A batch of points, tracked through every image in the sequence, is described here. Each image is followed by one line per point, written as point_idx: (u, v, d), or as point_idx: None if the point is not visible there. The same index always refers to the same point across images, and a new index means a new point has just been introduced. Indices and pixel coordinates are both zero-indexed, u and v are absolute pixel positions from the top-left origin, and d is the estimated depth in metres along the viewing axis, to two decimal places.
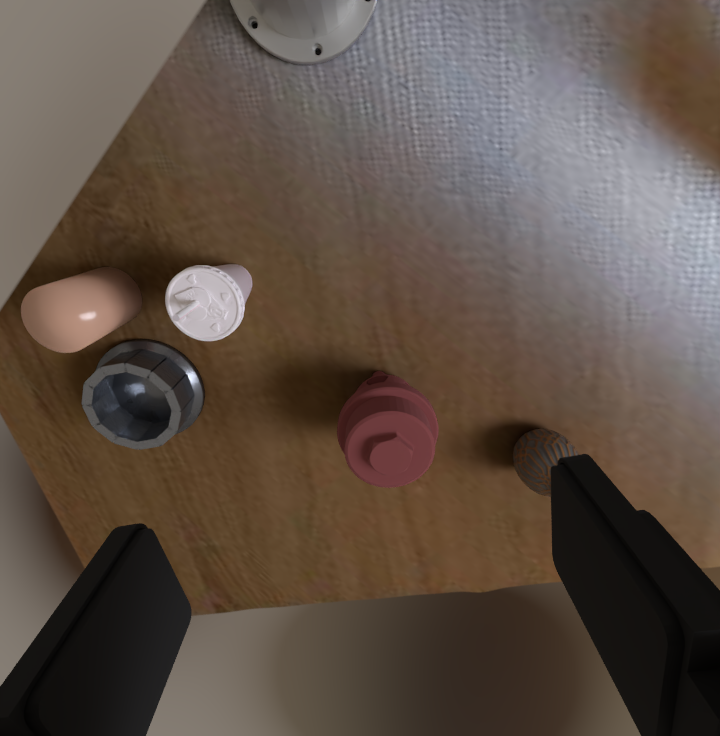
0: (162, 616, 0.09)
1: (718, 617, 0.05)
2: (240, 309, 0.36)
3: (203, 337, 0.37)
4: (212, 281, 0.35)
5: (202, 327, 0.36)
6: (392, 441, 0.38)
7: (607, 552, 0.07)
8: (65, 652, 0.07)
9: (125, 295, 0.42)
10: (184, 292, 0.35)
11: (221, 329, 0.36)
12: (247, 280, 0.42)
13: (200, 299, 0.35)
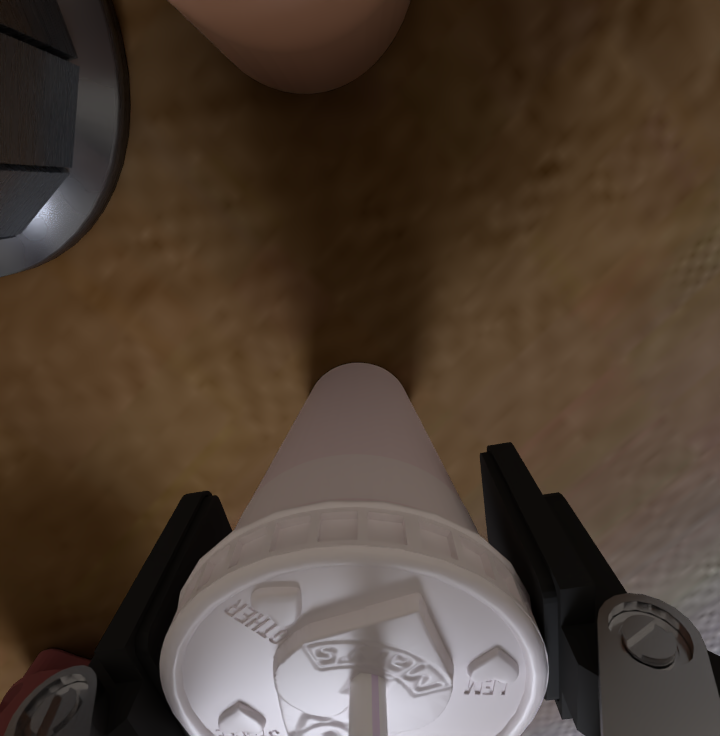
0: None
1: (584, 577, 0.06)
2: None
3: (178, 679, 0.07)
4: (470, 726, 0.07)
5: (234, 674, 0.07)
6: None
7: (511, 527, 0.08)
8: (162, 597, 0.08)
9: (322, 61, 0.09)
10: (430, 647, 0.06)
11: (234, 731, 0.07)
12: None
13: (390, 703, 0.07)
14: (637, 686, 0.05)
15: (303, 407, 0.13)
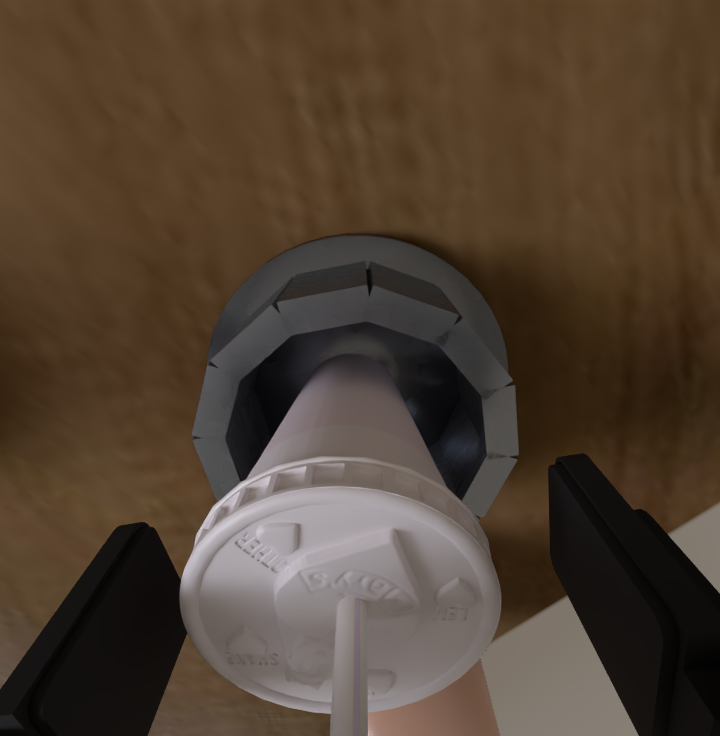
0: (164, 615, 0.10)
1: (713, 614, 0.05)
2: None
3: (195, 604, 0.08)
4: (438, 650, 0.09)
5: (241, 600, 0.08)
6: None
7: (604, 551, 0.07)
8: (68, 650, 0.07)
9: None
10: (403, 574, 0.08)
11: (239, 653, 0.09)
12: None
13: (370, 624, 0.08)
14: None
15: (300, 392, 0.15)
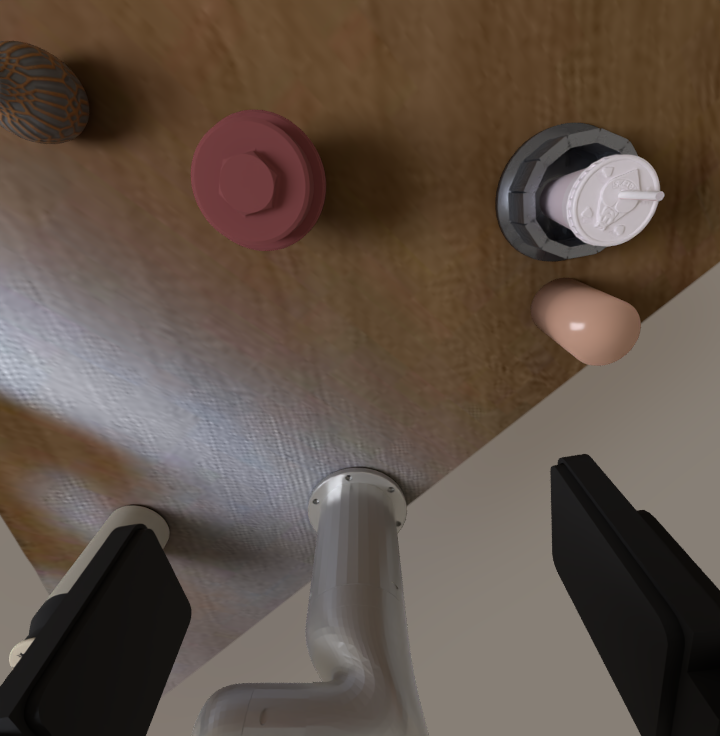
0: (162, 616, 0.09)
1: (718, 617, 0.05)
2: (601, 245, 0.32)
3: (579, 196, 0.31)
4: (639, 217, 0.32)
5: (590, 196, 0.31)
6: (248, 212, 0.30)
7: (607, 552, 0.07)
8: (65, 652, 0.07)
9: (542, 321, 0.43)
10: (637, 182, 0.31)
11: (583, 219, 0.32)
12: None
13: (625, 201, 0.31)
14: None
15: (554, 183, 0.37)
